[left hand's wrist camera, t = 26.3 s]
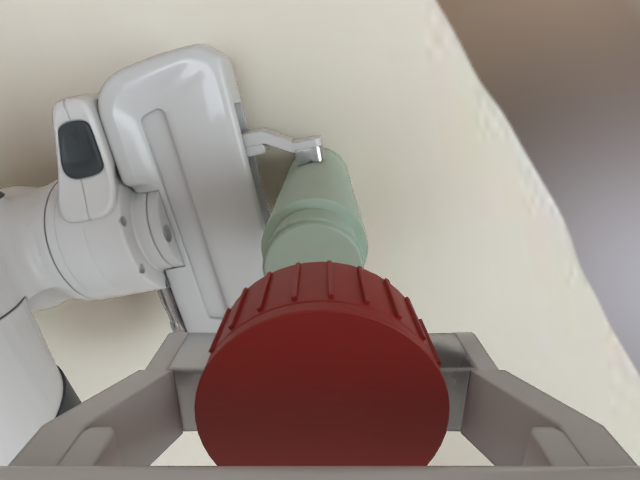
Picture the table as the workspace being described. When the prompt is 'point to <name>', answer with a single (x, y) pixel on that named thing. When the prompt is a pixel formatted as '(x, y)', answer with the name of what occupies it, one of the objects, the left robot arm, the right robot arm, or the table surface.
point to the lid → (322, 375)
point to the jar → (315, 218)
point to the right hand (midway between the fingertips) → (330, 192)
